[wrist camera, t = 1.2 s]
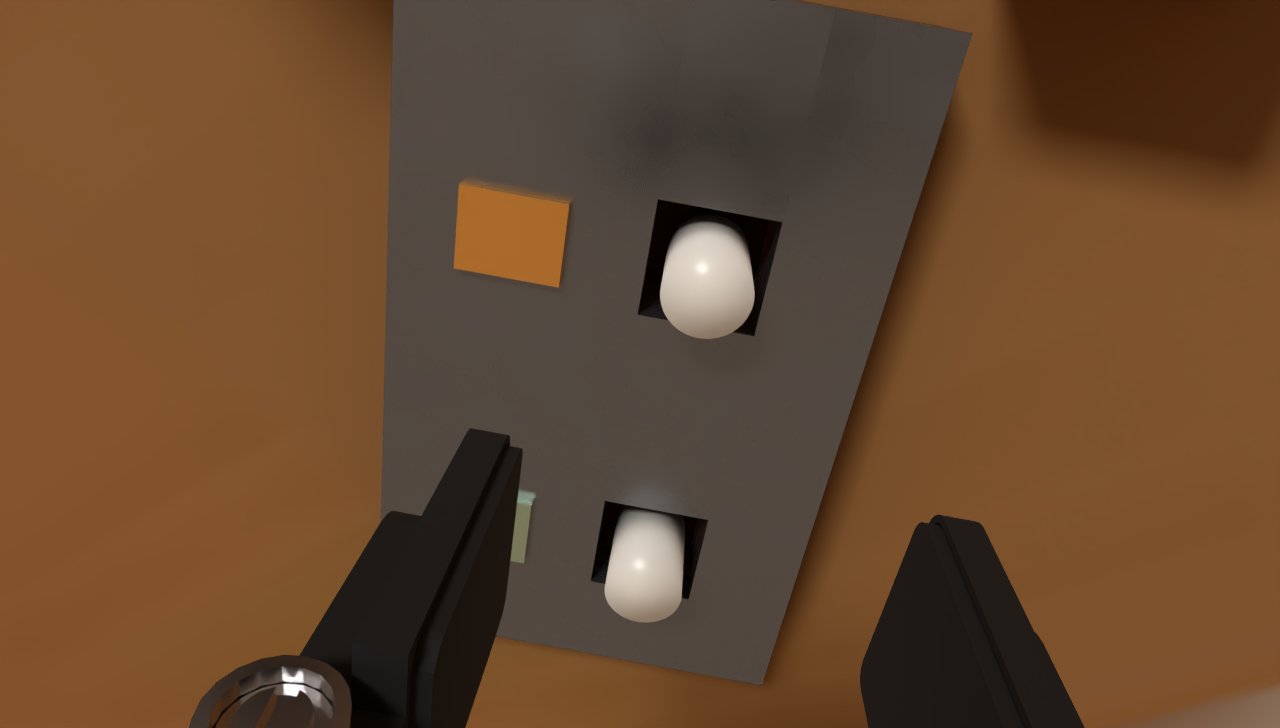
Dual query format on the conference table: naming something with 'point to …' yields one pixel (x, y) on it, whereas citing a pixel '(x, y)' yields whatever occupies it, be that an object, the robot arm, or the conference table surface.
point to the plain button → (646, 564)
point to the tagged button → (707, 277)
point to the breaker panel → (645, 283)
